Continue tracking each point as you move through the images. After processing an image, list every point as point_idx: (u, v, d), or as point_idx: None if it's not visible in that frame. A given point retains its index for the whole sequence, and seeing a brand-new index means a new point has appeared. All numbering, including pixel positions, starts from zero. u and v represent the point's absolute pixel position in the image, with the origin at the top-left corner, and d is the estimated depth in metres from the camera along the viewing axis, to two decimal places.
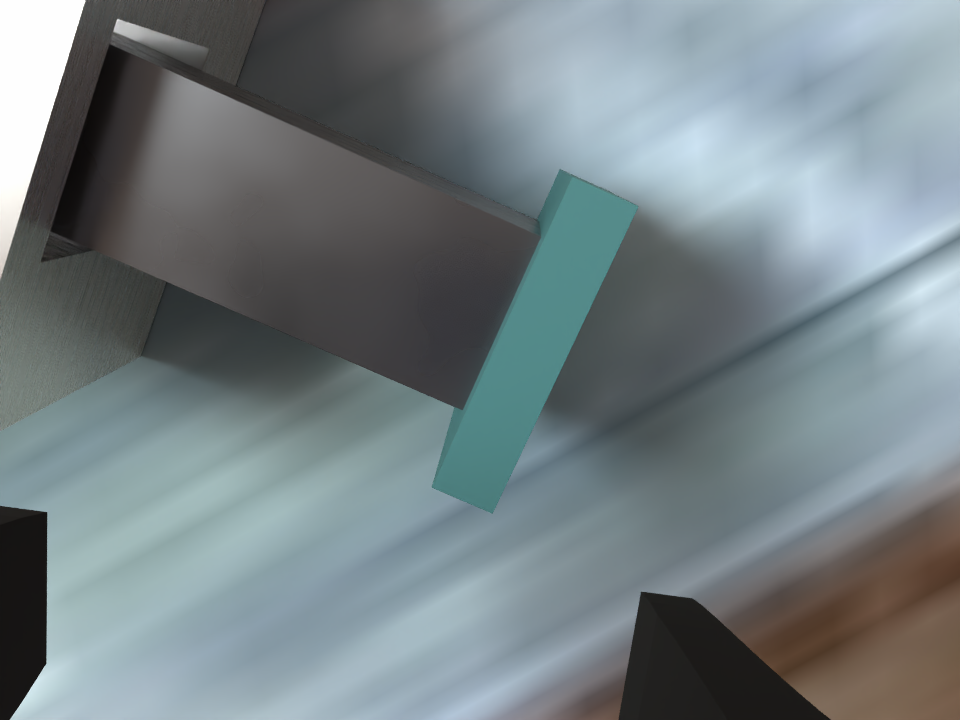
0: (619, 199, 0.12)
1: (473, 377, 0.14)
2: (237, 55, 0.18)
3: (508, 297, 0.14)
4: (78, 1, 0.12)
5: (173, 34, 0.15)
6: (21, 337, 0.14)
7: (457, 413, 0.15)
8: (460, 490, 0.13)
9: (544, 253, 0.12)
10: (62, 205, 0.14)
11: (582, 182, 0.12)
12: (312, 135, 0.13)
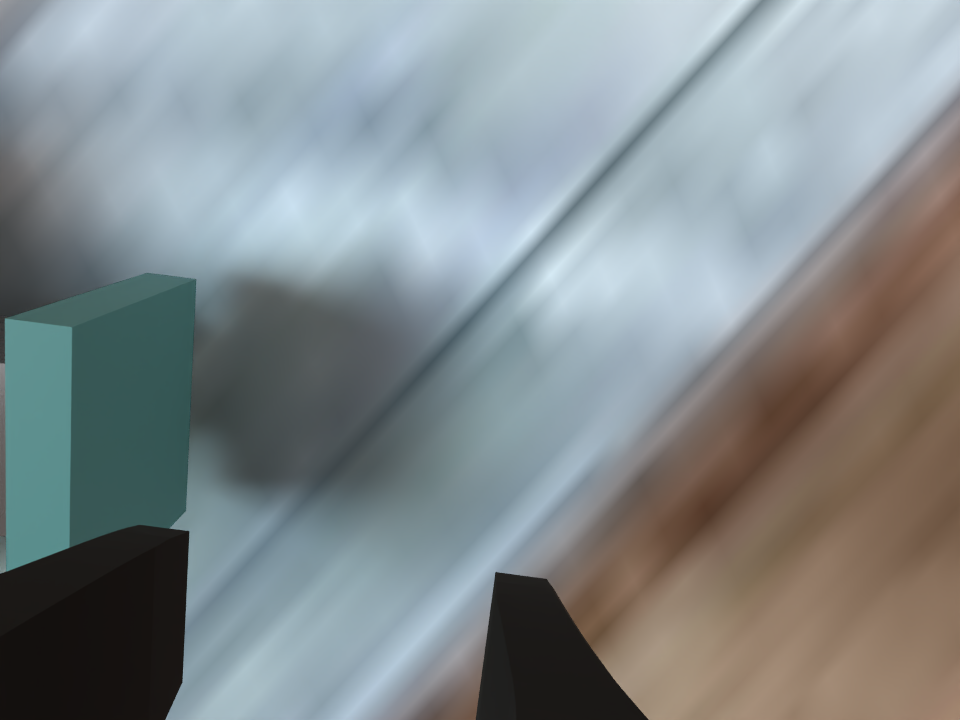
0: (52, 326, 0.13)
1: None
2: None
3: None
4: None
5: None
6: None
7: None
8: None
9: (9, 393, 0.13)
10: None
11: (16, 320, 0.13)
12: None
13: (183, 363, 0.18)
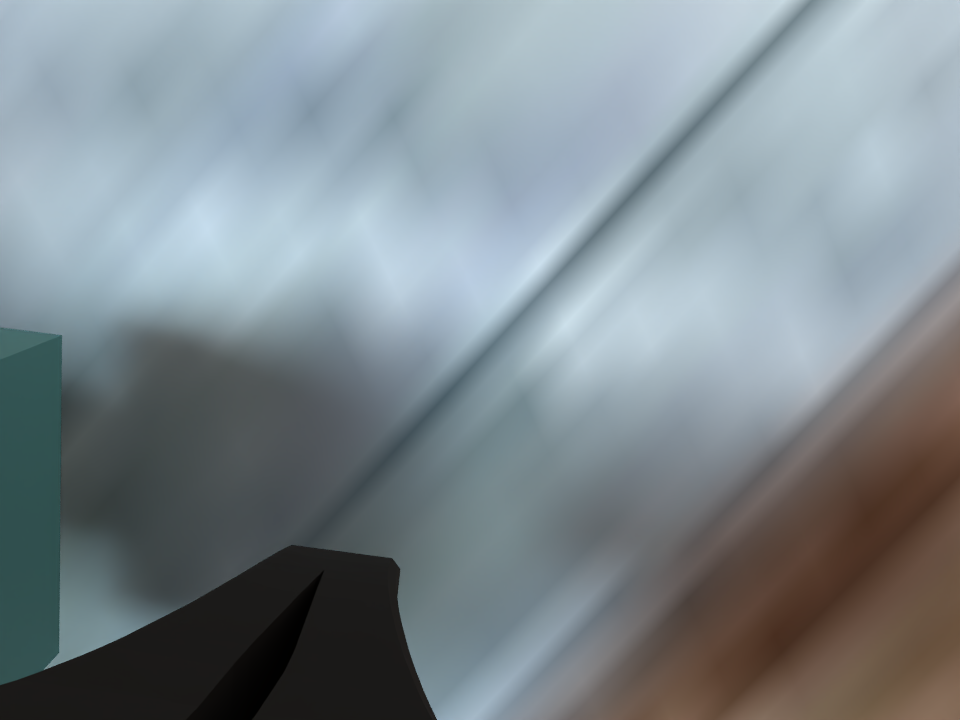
0: None
1: None
2: None
3: None
4: None
5: None
6: None
7: None
8: None
9: None
10: None
11: None
12: None
13: (41, 456, 0.12)
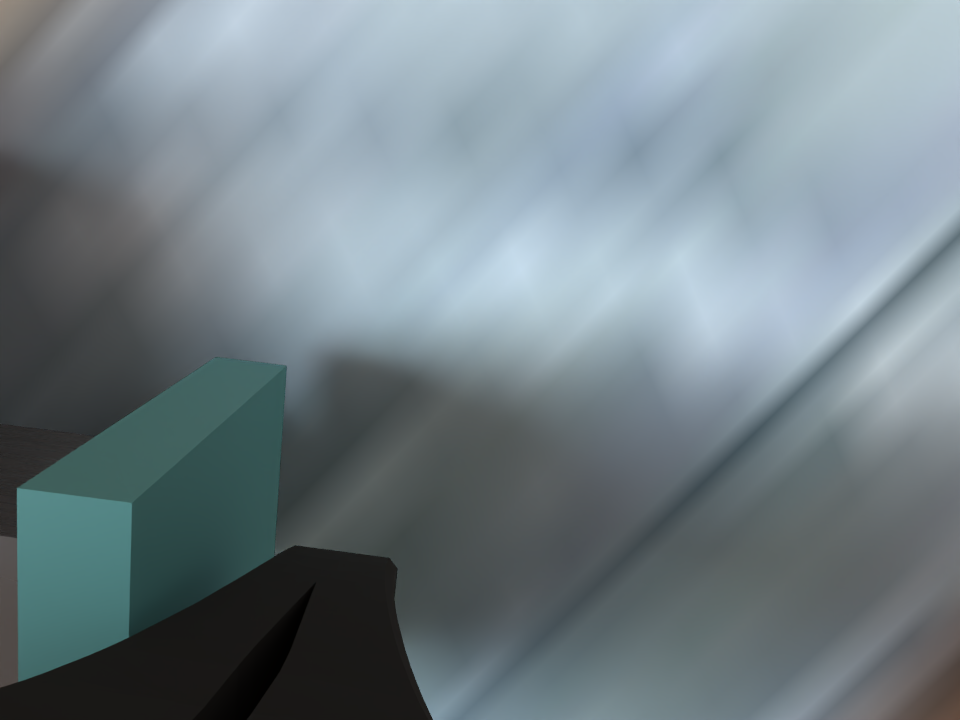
0: (98, 501, 0.08)
1: None
2: None
3: None
4: None
5: None
6: None
7: None
8: None
9: (24, 609, 0.08)
10: None
11: (36, 491, 0.08)
12: None
13: (269, 488, 0.12)
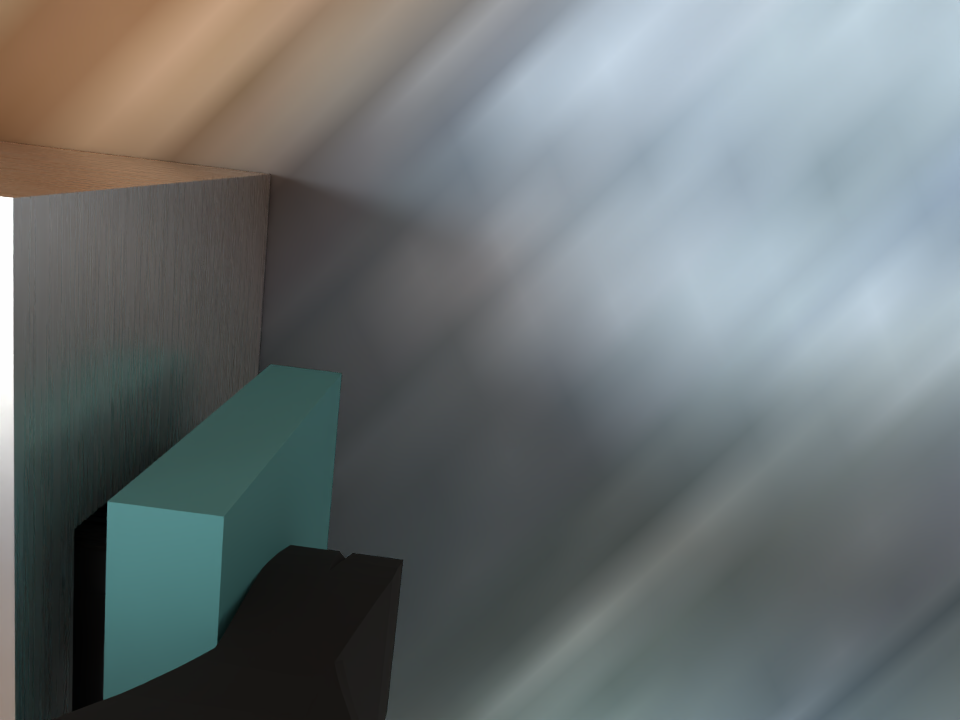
0: (190, 515, 0.08)
1: None
2: (248, 381, 0.14)
3: None
4: (4, 572, 0.07)
5: (161, 452, 0.10)
6: None
7: None
8: None
9: (112, 623, 0.08)
10: None
11: (126, 504, 0.08)
12: None
13: (324, 496, 0.12)
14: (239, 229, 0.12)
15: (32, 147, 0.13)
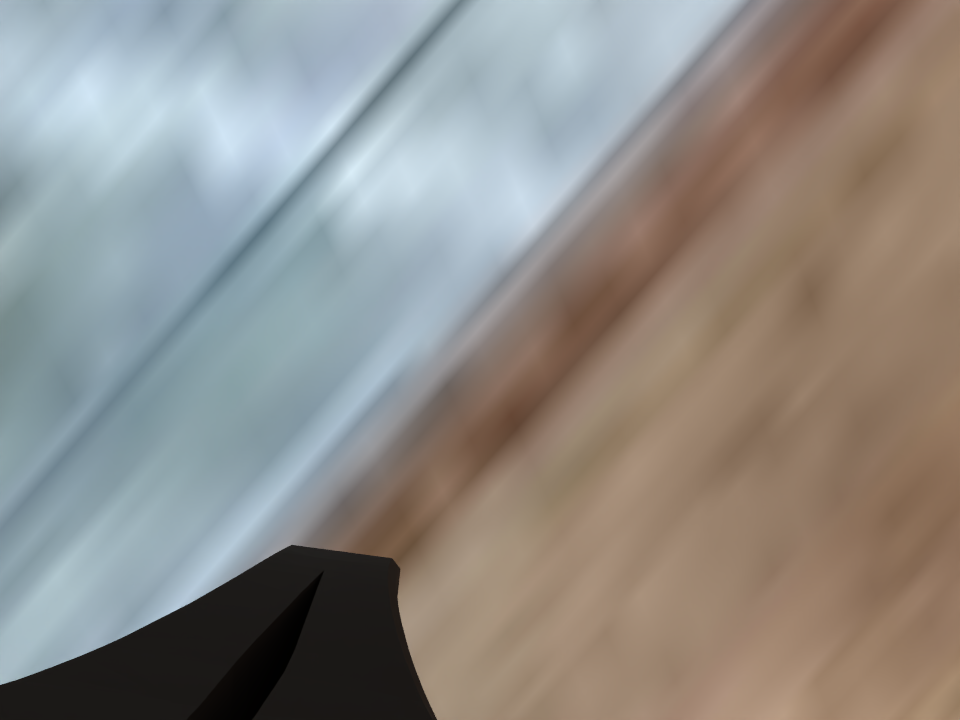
0: None
1: None
2: None
3: None
4: None
5: None
6: None
7: None
8: None
9: None
10: None
11: None
12: None
13: None
14: None
15: None
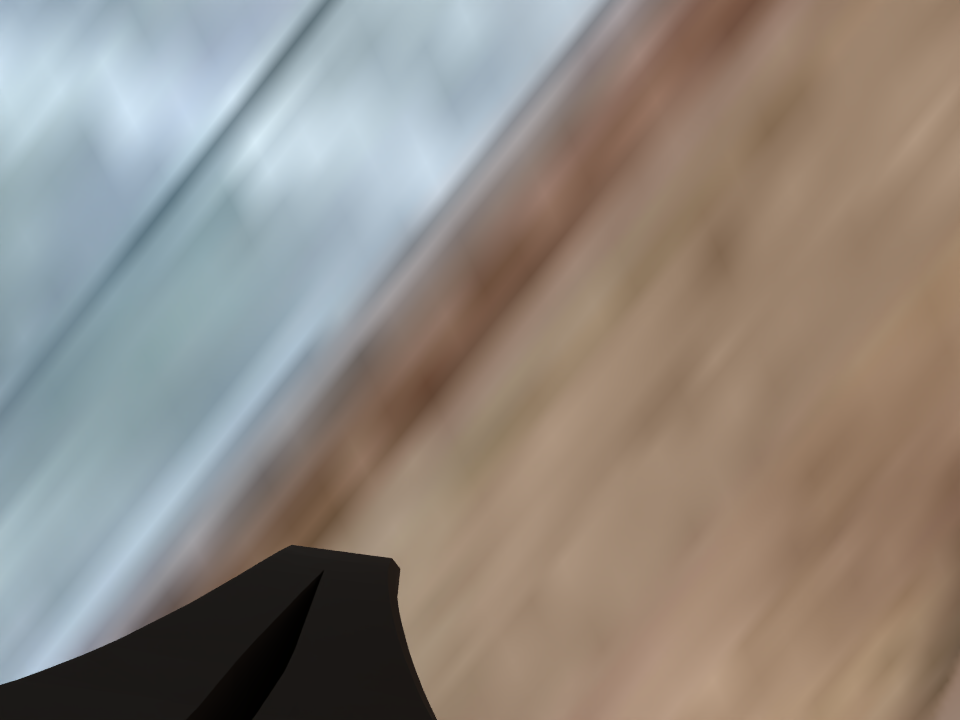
0: None
1: None
2: None
3: None
4: None
5: None
6: None
7: None
8: None
9: None
10: None
11: None
12: None
13: None
14: None
15: None
